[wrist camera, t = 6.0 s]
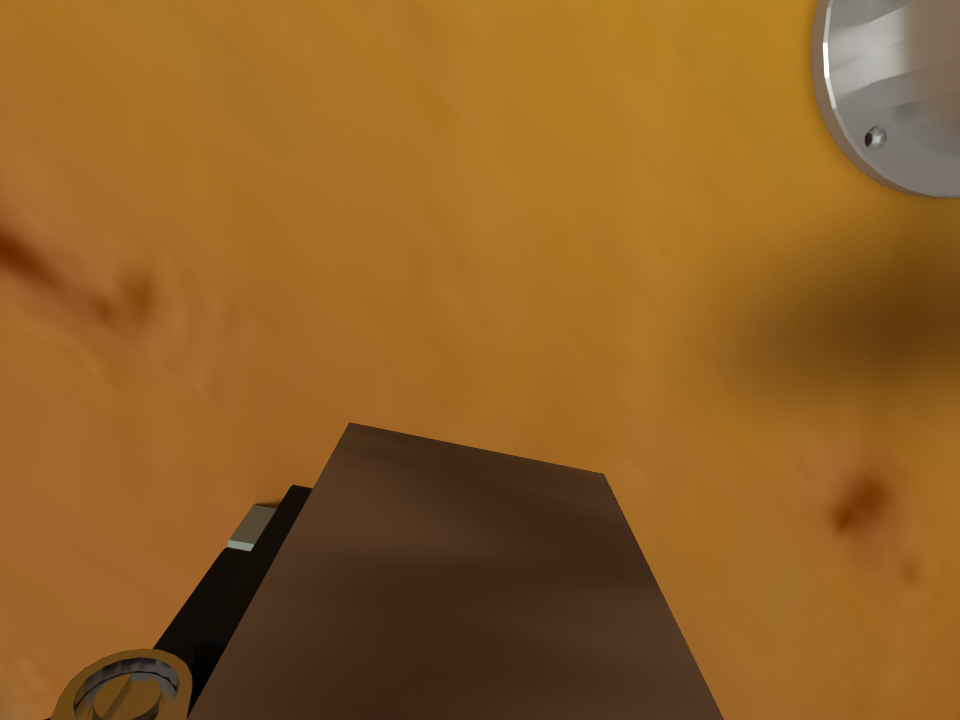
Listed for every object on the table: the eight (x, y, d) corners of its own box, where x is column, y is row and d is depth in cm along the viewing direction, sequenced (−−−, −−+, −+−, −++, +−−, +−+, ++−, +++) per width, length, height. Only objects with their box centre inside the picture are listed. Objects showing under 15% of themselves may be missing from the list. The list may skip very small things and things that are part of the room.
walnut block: (603, 473, 11) (795, 866, 5) (540, 680, 13) (620, 1225, 6) (349, 422, 11) (161, 766, 4) (309, 640, 12) (117, 1171, 6)
